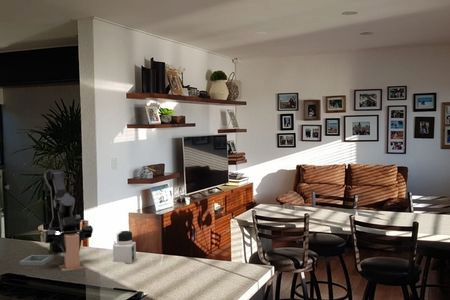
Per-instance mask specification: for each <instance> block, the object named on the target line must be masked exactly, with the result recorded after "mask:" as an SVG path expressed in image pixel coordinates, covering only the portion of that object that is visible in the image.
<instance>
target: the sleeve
mask: <svg viewBox="0 0 450 300" xmlns="http://www.w3.org/2000/svg"><path fill="white" fill-rule="evenodd" d="M64 245H65V249H66V253H64V252H63V253H64V254H63V255H64V265H65V267H66V268H67V269H69V268H76V267H80V262H81V261H80V260H81V259H80V257H81V256H80V251H79V235H78V234H77V233H74V234H65V235H64Z"/></svg>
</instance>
